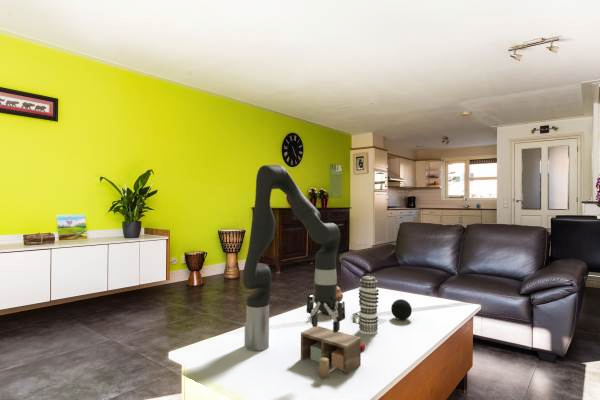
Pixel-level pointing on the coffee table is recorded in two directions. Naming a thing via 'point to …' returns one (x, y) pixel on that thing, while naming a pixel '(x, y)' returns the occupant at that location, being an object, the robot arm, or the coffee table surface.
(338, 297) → the decorative planter
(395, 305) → the decorative ball
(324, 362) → the tethered block
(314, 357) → the shelf block
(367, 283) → the stacked ring tower
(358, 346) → the shelf
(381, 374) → the coffee table surface
